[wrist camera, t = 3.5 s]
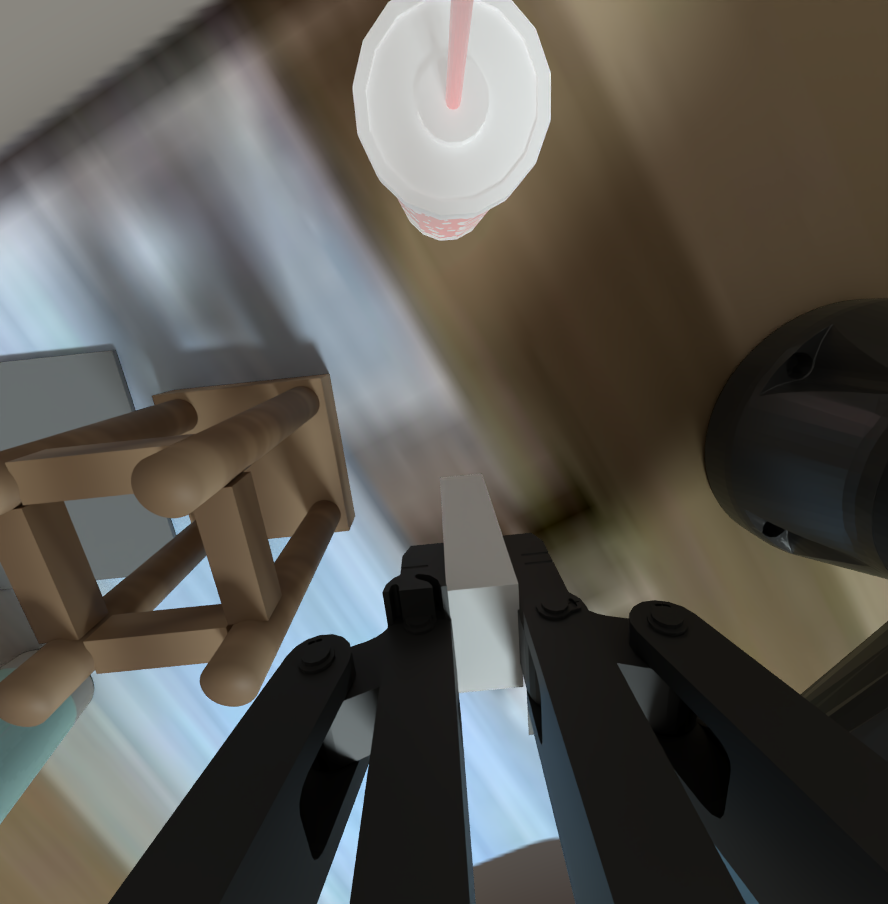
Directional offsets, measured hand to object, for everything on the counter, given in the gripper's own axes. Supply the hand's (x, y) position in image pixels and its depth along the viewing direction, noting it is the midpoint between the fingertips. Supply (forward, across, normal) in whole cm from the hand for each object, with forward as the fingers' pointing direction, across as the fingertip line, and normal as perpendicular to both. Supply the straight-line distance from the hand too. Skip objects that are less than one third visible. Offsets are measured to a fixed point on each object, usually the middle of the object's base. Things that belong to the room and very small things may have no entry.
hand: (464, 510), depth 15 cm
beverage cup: (+11, -1, -13) cm, 17 cm away
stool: (+11, +11, 0) cm, 15 cm away
